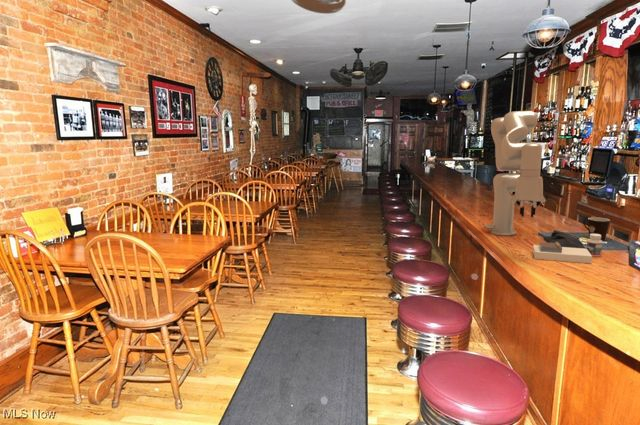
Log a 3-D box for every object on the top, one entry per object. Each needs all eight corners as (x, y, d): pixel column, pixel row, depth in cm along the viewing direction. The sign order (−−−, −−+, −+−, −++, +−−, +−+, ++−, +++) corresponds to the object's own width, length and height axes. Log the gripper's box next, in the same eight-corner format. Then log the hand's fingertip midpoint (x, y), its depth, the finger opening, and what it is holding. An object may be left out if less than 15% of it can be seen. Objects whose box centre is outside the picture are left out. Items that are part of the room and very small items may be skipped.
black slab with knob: (551, 250, 176) (551, 240, 175) (542, 238, 197) (542, 229, 196) (591, 252, 171) (592, 242, 170) (577, 239, 191) (578, 230, 190)
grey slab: (541, 251, 165) (541, 244, 164) (539, 246, 172) (539, 240, 171) (561, 252, 162) (562, 246, 161) (559, 247, 169) (559, 241, 168)
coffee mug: (611, 242, 184) (613, 221, 182) (590, 241, 186) (592, 221, 184) (599, 235, 195) (601, 216, 193) (580, 235, 197) (582, 216, 195)
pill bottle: (583, 253, 170) (584, 233, 168) (594, 252, 170) (596, 232, 168) (592, 257, 164) (594, 236, 163) (604, 256, 165) (606, 235, 163)
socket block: (534, 258, 165) (535, 252, 164) (532, 251, 175) (533, 245, 174) (591, 263, 157) (592, 256, 156) (586, 255, 167) (586, 248, 166)
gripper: (508, 174, 164) (506, 217, 168) (553, 174, 158) (550, 219, 161) (508, 172, 171) (505, 213, 175) (551, 172, 164) (548, 215, 168)
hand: (527, 215), depth 168 cm, fingers open, 3 cm apart
